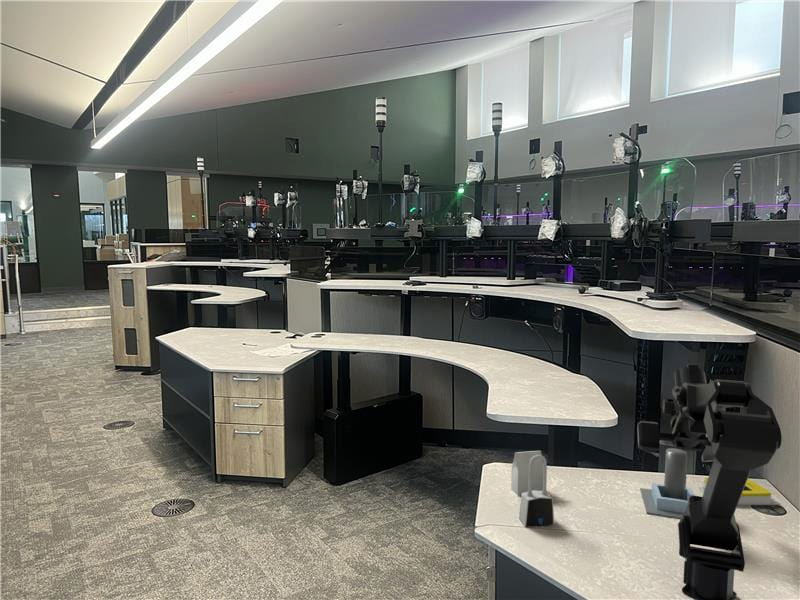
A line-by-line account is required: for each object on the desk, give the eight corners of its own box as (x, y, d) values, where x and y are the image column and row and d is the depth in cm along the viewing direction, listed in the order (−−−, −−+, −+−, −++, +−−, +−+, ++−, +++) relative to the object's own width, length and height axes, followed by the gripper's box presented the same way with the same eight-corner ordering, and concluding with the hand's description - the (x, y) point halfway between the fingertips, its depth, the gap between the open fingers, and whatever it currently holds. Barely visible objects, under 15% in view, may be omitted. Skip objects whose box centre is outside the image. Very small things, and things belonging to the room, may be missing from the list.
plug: (689, 507, 119) (692, 454, 118) (671, 508, 118) (674, 455, 117) (676, 498, 123) (678, 447, 122) (659, 500, 122) (661, 448, 121)
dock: (712, 523, 112) (713, 510, 112) (646, 513, 117) (647, 500, 116) (699, 497, 125) (699, 485, 125) (640, 489, 129) (640, 477, 129)
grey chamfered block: (543, 493, 127) (544, 453, 126) (517, 495, 125) (518, 455, 124) (536, 486, 130) (537, 448, 129) (511, 489, 129) (512, 450, 128)
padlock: (546, 515, 115) (548, 450, 114) (555, 525, 111) (557, 457, 110) (518, 518, 114) (519, 452, 113) (525, 528, 110) (527, 459, 109)
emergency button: (696, 472, 130) (754, 472, 130) (695, 489, 130) (753, 489, 131) (720, 489, 121) (783, 488, 121) (719, 507, 121) (781, 506, 122)
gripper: (738, 393, 107) (721, 429, 118) (639, 385, 113) (632, 420, 124) (748, 443, 100) (729, 476, 111) (642, 432, 106) (634, 464, 117)
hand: (679, 457), depth 116 cm, fingers open, 9 cm apart
